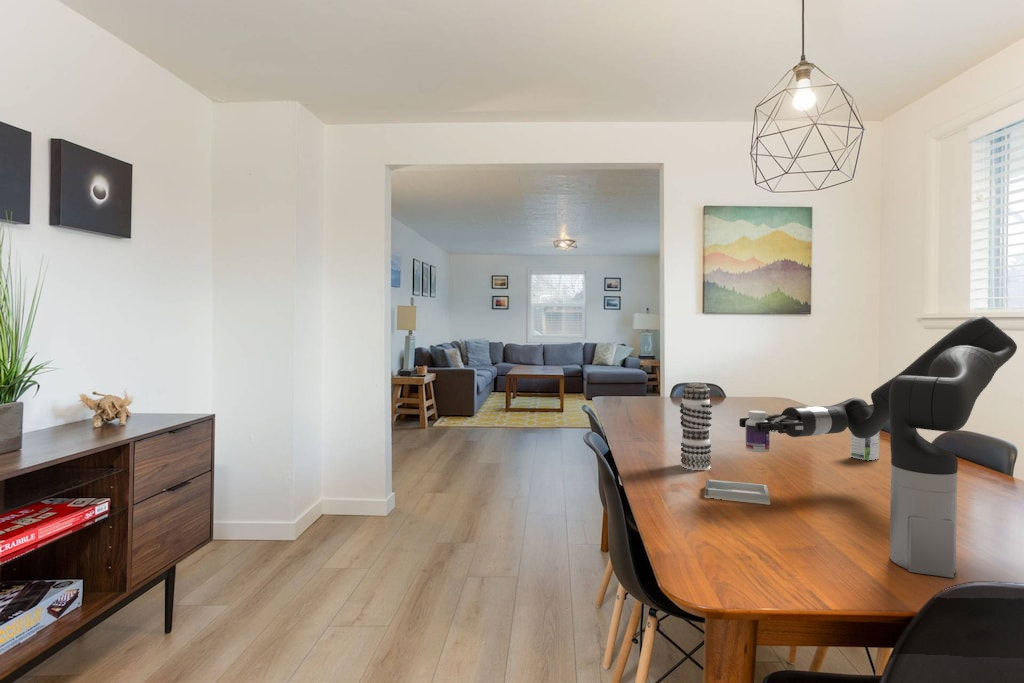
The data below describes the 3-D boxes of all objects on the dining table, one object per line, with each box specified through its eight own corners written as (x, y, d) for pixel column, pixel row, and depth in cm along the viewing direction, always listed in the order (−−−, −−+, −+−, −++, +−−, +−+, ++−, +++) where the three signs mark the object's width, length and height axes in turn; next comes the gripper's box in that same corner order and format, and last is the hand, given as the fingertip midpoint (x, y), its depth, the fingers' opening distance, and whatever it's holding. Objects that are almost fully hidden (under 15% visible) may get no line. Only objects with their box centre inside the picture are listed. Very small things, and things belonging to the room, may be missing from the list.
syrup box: (849, 457, 168) (849, 411, 167) (861, 455, 170) (861, 410, 170) (868, 461, 163) (868, 414, 162) (879, 459, 165) (880, 413, 165)
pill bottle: (772, 453, 129) (772, 413, 128) (748, 452, 130) (748, 413, 129) (766, 448, 134) (766, 410, 134) (743, 447, 135) (743, 409, 135)
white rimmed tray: (766, 492, 134) (766, 484, 134) (770, 504, 125) (770, 496, 125) (705, 486, 140) (705, 478, 139) (704, 497, 130) (704, 489, 130)
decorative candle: (707, 463, 163) (707, 381, 162) (716, 471, 153) (716, 385, 153) (676, 462, 163) (676, 381, 163) (683, 470, 154) (683, 385, 153)
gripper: (785, 402, 142) (729, 405, 138) (829, 410, 128) (768, 414, 124) (785, 430, 142) (729, 434, 138) (828, 441, 128) (768, 446, 124)
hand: (748, 424), depth 131 cm, fingers closed on pill bottle, 5 cm apart
